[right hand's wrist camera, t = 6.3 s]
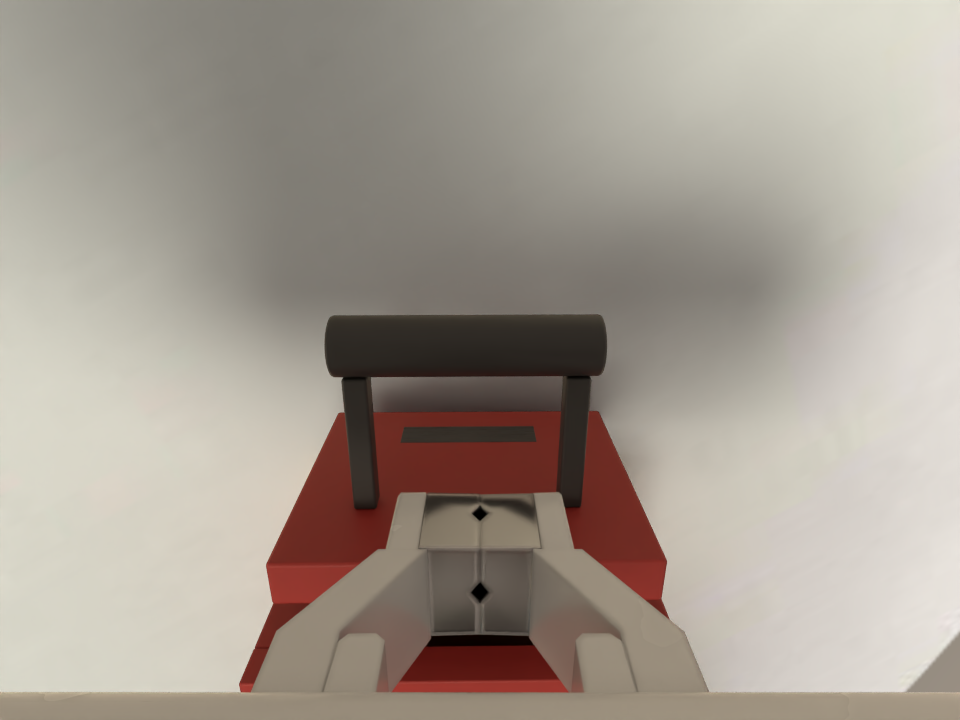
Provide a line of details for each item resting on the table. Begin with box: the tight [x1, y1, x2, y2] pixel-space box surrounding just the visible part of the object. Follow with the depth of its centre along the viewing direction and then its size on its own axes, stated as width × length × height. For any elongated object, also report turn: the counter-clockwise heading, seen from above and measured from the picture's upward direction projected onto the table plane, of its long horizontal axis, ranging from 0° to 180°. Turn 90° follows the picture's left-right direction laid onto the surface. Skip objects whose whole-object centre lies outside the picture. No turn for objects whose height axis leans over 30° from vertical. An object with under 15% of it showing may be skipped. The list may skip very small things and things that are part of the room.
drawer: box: [266, 315, 667, 647], centre depth 18 cm, size 21×9×8 cm, turn 0°
